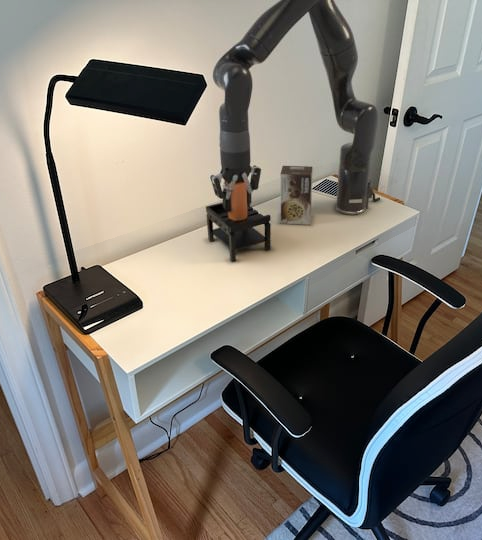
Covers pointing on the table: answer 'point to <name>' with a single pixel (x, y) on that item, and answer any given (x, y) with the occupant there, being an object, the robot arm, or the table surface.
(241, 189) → the orange-brown cylinder
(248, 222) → the rack
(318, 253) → the table surface
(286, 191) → the coffee box
